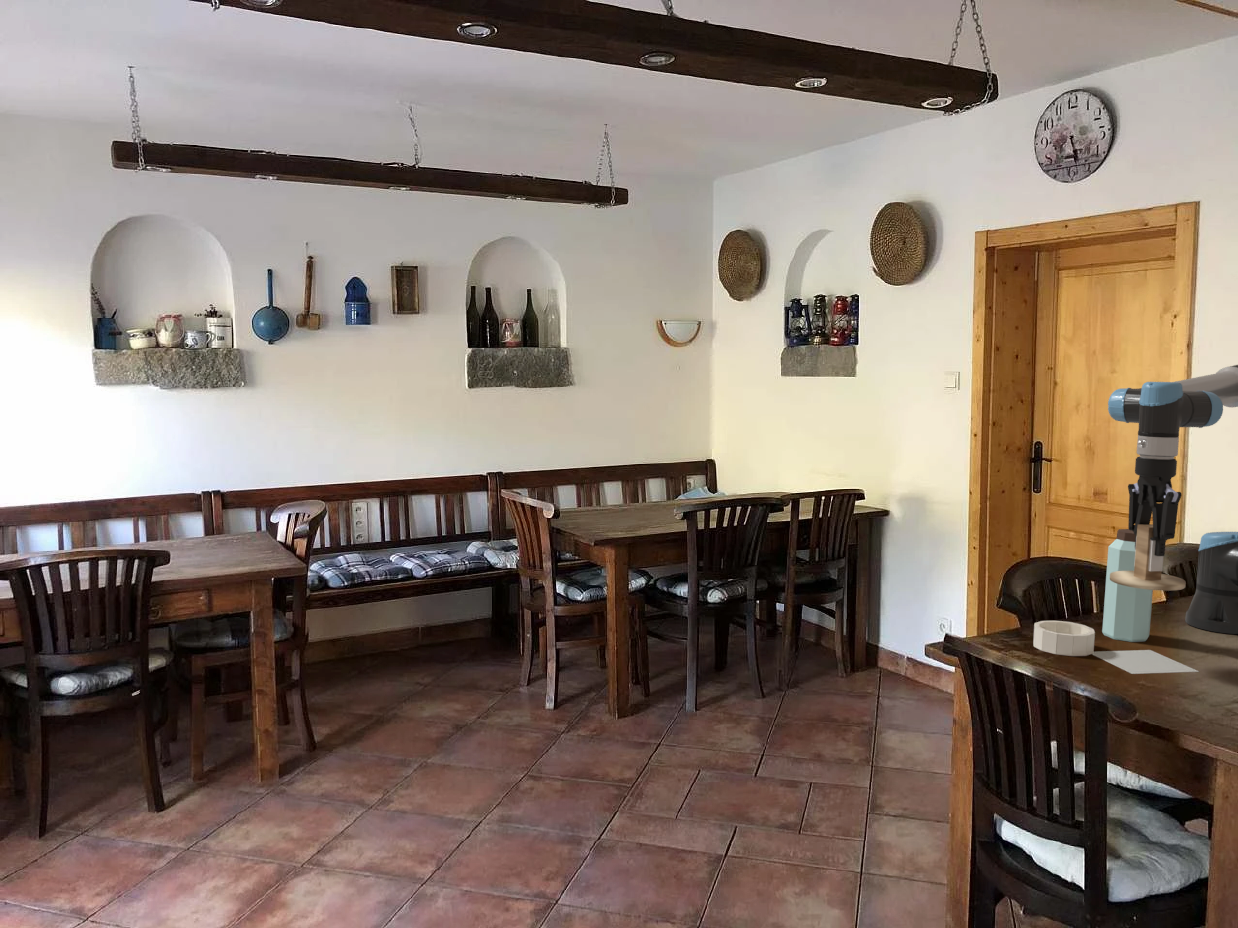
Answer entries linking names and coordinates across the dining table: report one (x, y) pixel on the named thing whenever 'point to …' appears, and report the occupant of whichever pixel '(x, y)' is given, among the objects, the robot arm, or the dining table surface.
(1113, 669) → the dining table surface
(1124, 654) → the mat
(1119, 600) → the water bottle
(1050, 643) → the bowl
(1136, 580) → the wooden post on disc
